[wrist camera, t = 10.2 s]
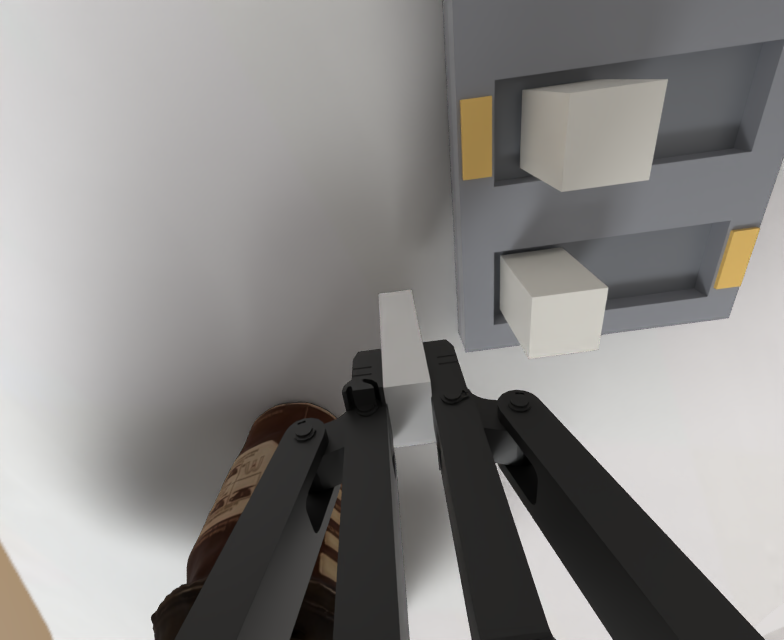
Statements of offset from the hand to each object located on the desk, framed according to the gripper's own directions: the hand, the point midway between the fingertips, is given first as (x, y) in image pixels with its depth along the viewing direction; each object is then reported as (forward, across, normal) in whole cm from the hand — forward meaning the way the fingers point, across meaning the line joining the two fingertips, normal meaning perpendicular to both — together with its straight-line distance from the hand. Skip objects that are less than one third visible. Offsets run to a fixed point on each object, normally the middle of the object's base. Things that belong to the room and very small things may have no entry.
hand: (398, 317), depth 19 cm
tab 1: (+2, +8, +7) cm, 11 cm away
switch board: (+3, +10, +7) cm, 13 cm away
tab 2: (+2, +7, 0) cm, 7 cm away
